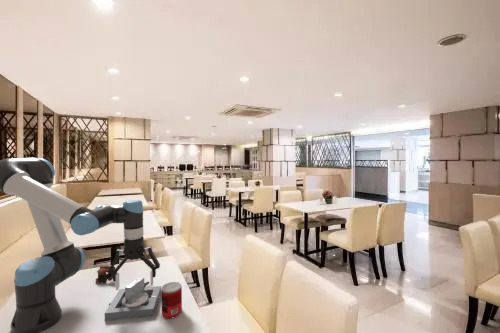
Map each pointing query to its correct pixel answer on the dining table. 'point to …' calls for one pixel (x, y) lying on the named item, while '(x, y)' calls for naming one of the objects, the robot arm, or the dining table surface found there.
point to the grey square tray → (133, 312)
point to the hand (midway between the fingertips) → (135, 286)
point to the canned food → (171, 299)
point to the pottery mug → (104, 274)
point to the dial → (135, 294)
